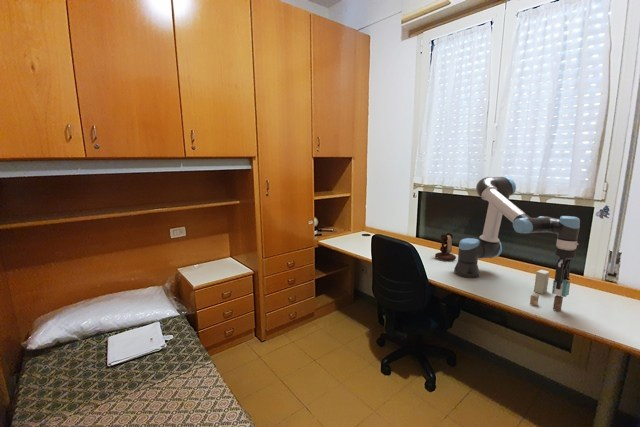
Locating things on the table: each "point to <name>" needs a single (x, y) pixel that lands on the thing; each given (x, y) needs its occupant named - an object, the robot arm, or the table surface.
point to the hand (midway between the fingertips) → (559, 293)
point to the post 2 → (557, 303)
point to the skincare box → (541, 281)
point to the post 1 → (534, 299)
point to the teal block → (565, 288)
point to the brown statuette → (446, 248)
